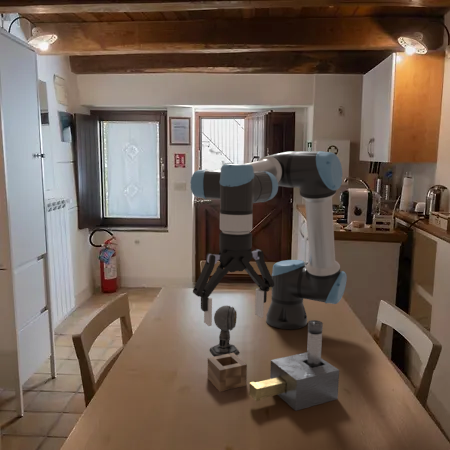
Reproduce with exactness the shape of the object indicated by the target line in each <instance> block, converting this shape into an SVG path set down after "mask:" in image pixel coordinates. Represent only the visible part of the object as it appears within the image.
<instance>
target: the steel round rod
mask: <svg viewBox="0 0 450 450" xmlns="http://www.w3.org/2000/svg"><path fill="white" fill-rule="evenodd" d="M323 324H324V323H323V322H322V321H321V320H314V319H313V320H309V321H307V343H306V344H307V346H306V347H307V348H306V352H307V365H308V366H310V367H311V368H314V367H318V366H321V358H322V344H323V343H322V341H323V329H324V328H323V326H324V325H323Z"/></svg>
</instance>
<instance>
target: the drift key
mask: <svg viewBox="0 0 450 450" xmlns="http://www.w3.org/2000/svg"><path fill="white" fill-rule="evenodd" d="M286 389H287V382H286V381H285V380H284V379H283V378H281V377H277V378H272V379H270V378H268V379H264V380H261V381H256V382H255V381H251V382H249V391H248V392H249V396H250V397H251V398H253V400H254V401H255V402H258V401H261V400H262V399H265V398H269V397H274V396H276V395H277V394H281V393H285V392H286ZM277 396H278V395H277Z"/></svg>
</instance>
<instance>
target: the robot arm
mask: <svg viewBox="0 0 450 450" xmlns="http://www.w3.org/2000/svg"><path fill="white" fill-rule="evenodd" d="M342 183H343V168H342V162H341V161H340V158H339V156H338V155H337V154H336V153H334V152H331V151H323V150H317V151H313V150H312V151H309V150H308V151H306V150H305V151H295V150H293V151H292V150H291V151H290V150H289V151H283V152H280V153H279V152H278V153H274V154H270V155H267V156H262V157H261V158H259V159H258V160H257V161H253V162H248V163H247V162H246V163H225V164H223V165H222V166H221V167H220V168H217V169H207V168H205V169H197V170H196V171H194V172H193V173H192V174H191V178H190V190H191V193H192V195H193V196H195V197H196V198H199V199H204V200H208V199H209V200H210V199H211V200H219V207H220V208H219V230H220V232H219V241H218V242H219V245H218V246H219V252H218V254H215V253H214V254H212V253H210V252H208V253H207V254H206V256H205V264H204V265H203V267H202V270H201V272H200V275H199V276H198V279H197V280H196V282H195V285H194V286H193V289H192V293H193V294H194V295H195V296H197V297H199V298H200V310H201V311H203V323H205V325H207V326H208V327H212V326H213V325H212V324H213V323H212V321H213V298H212V297H211V294H212V293H213V292H214V290H215V289H216V288H217V286H218V285H219V283H220V282H221V280H223V278H224V277H225V276H226V275H228V273H229V272H230V273H235V272H243V271H245V272H246V273H247V274H248V275H249V277H250V278H251V279H252V280H253V282H254V283H255V284H256V285H257V286H258V288H255V301H254V302H255V305H254V309H255V310H254V315H256V316H257V317H258V318H261V319H262V318H264V312H265V311H264V307H265V306H264V304H266V303H267V298H268V297H267V295H268V294H267V292H269V291H270V289H271V302H270V304H269V307H268V310H267V313H266V316H265V317H266V318H265V319H266V324H267V325H268V326H271V327H273V328H277V329H280V330H281V329H282V330H299V329H302V328H304V327H306V326H308V315H307V312H306V309H305V305H304V300H309V301H314V302H321V303H325V304H332V305H336V304H338V303H339V302H340V301H341V300H342V298H343V296H344V294H345V289H346V285H347V280H348V279H347V278H348V275H347V273H346V272H345V271H344V270H342V271H341V265H340V263H339V261H337V260H336V252H335V251H336V249H335V232H334V231H335V230H334V213H333V197H334V196H335V195H336V194H337V190H339V189H340V188H341V186H342ZM279 187H285V188H293V189H294V188H297V189H299V196H300V197H301V198H303V200H304V204H305V216H306V217H305V218H306V229H307V231H306V232H307V242H308V254H309V255H308V256H309V262H308V263H307V264H306V263H305V261H304V260H301V259H287V260H281V261H277V262H276V263H274V264H273V265H272V273H270V270H269V268H268V266H267V264H266V261H265V255H264V251H263V250H261V249H258V248H255V249H254V250H253V251H252V247H253V233H252V231H253V208H254V207H253V205H254V204H256V203H265V202H268V201H270V200H272V199H274V197H276V195H277V193H278V191H279ZM252 259H253V260H254V261H255V263H256V266H257V269H258V271H259V272H260V275H261V276H260V275H259V274H258V272H257V271H256V270H255V269H254V267H253V266H252V264H251V263H250V262H251V260H252ZM218 261H219V264H218V266H217V267H216V270H215V271H214V269H215V265H216V264H217V263H218ZM213 271H214V273H213V274H212V272H213ZM261 277H262V278H261Z"/></svg>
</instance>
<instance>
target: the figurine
mask: <svg viewBox="0 0 450 450" xmlns="http://www.w3.org/2000/svg"><path fill="white" fill-rule="evenodd" d="M213 315H214V316H213V319H214V320H213V321H214V324H215V326H216V327H217V328H218V329H219V330H220V332H219V336H218V339H219V343H218V344H216V345H214V346H211V347H210V348H209V352H210V354H211V355H212V357H215V356H220V355H225V354H230V353H234V354H235V355H237V356H238V354H240V351H239V349H238V348H237V347H236V346H235V344H231V343H230V340H231V334H230V331H232V330H234V328H235V327H236V324H237V318H238V317H237V310H236V309H235V307H233V306H232V307H231V305H222V306H220V307H218V308H217V310H216V311H215V312H214V314H213Z"/></svg>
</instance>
